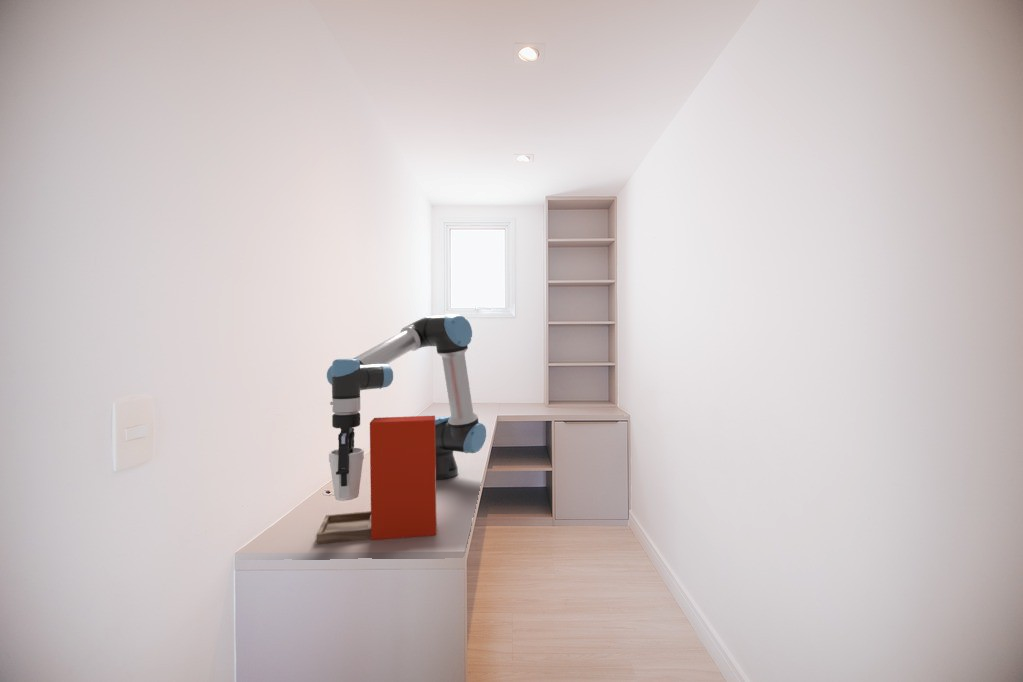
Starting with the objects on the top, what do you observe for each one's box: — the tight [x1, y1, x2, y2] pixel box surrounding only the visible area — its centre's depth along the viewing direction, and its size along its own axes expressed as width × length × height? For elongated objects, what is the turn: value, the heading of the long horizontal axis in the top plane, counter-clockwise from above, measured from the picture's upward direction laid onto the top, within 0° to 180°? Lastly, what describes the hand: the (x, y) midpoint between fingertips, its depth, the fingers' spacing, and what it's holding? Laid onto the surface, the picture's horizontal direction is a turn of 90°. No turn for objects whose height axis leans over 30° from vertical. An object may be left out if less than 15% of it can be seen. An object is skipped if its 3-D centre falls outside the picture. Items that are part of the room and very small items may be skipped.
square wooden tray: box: [315, 510, 371, 545], centre depth 128 cm, size 14×14×2 cm
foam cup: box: [328, 446, 365, 502], centre depth 128 cm, size 10×9×13 cm
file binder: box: [369, 415, 438, 541], centre depth 126 cm, size 8×17×32 cm, turn 98°
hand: (347, 491), depth 128 cm, fingers closed on foam cup, 9 cm apart
